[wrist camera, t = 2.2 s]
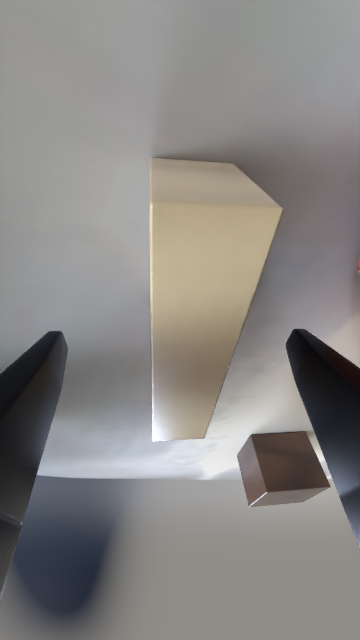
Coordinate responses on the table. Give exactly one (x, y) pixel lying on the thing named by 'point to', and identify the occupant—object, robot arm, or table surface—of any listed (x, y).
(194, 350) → the birch bar
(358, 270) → the plant pot
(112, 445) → the table surface
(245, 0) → the table surface
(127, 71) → the table surface
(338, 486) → the robot arm
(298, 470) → the walnut block
